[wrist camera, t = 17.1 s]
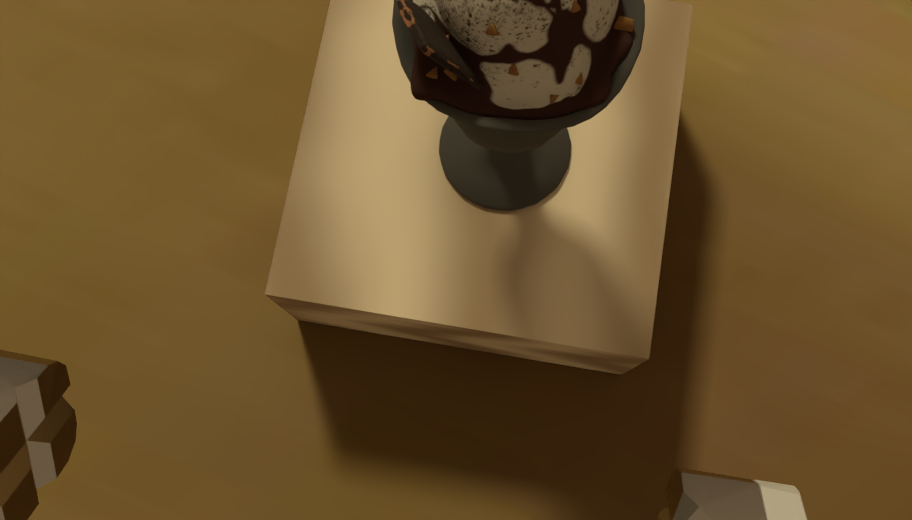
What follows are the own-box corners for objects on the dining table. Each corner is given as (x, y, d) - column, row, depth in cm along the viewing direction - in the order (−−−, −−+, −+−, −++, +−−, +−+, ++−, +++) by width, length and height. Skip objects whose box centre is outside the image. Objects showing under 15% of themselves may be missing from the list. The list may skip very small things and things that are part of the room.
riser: (297, 319, 38) (264, 294, 32) (360, 26, 41) (341, -48, 35) (621, 374, 37) (649, 358, 31) (660, 70, 40) (693, 4, 34)
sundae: (600, 74, 33) (700, -227, 19) (584, 243, 32) (677, 60, 17) (430, 55, 34) (396, -256, 19) (405, 222, 32) (348, 24, 18)
